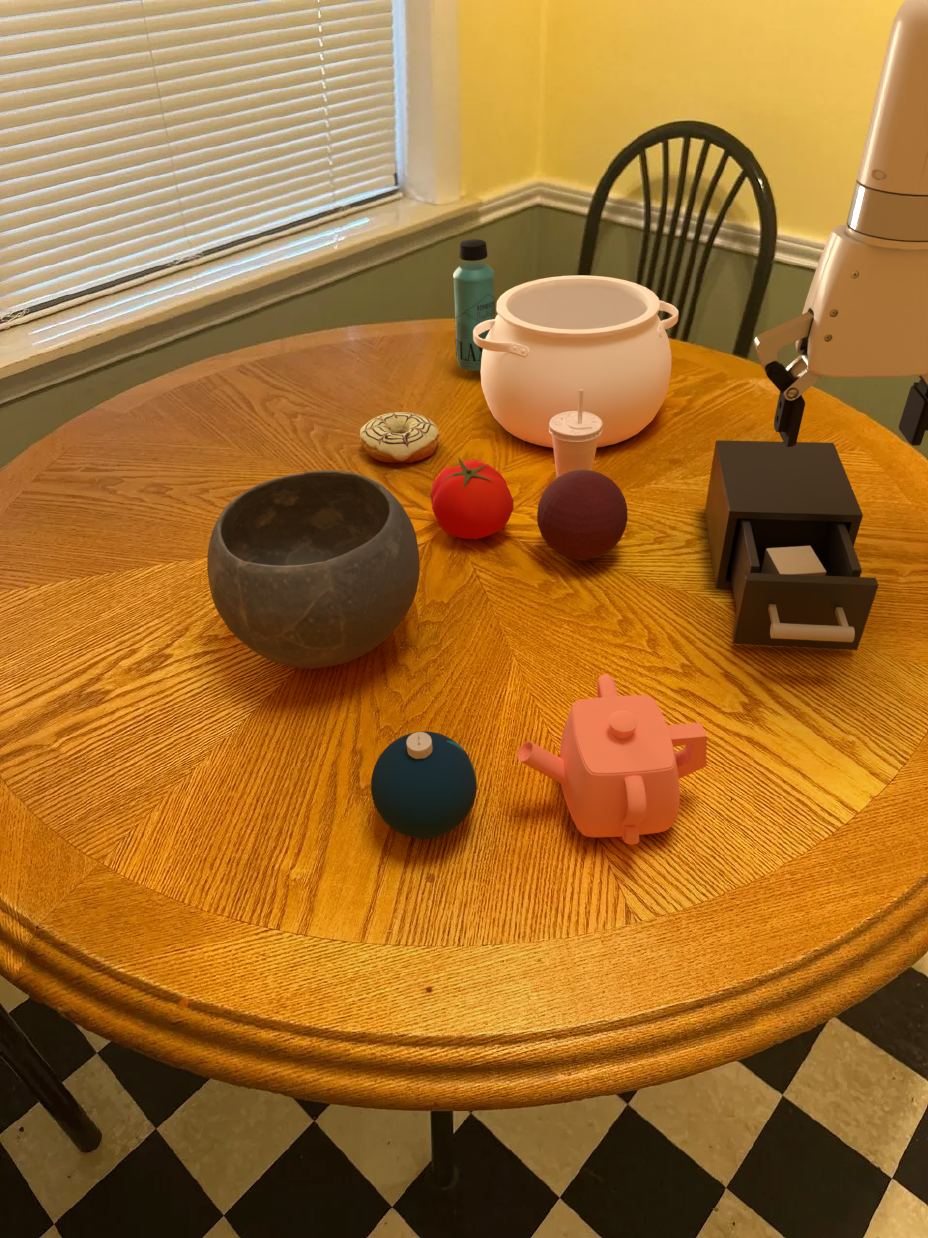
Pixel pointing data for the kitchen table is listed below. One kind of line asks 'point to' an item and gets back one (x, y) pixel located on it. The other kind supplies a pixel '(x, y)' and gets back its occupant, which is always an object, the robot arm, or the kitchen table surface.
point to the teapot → (620, 764)
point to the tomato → (471, 500)
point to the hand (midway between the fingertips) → (847, 438)
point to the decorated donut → (399, 437)
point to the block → (792, 561)
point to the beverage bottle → (472, 302)
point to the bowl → (313, 567)
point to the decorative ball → (582, 515)
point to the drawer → (798, 587)
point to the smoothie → (575, 439)
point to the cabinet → (774, 491)
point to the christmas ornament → (423, 785)
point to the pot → (576, 355)
